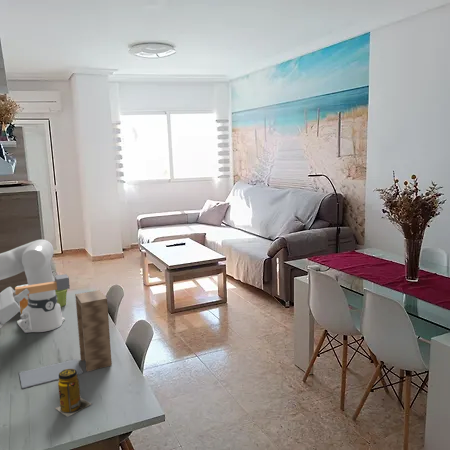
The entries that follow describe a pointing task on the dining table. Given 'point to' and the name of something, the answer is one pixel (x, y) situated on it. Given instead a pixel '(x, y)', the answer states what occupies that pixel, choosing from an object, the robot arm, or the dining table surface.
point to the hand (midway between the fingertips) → (27, 288)
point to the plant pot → (61, 297)
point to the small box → (23, 301)
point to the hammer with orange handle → (47, 285)
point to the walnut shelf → (93, 329)
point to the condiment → (70, 393)
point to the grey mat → (47, 373)
